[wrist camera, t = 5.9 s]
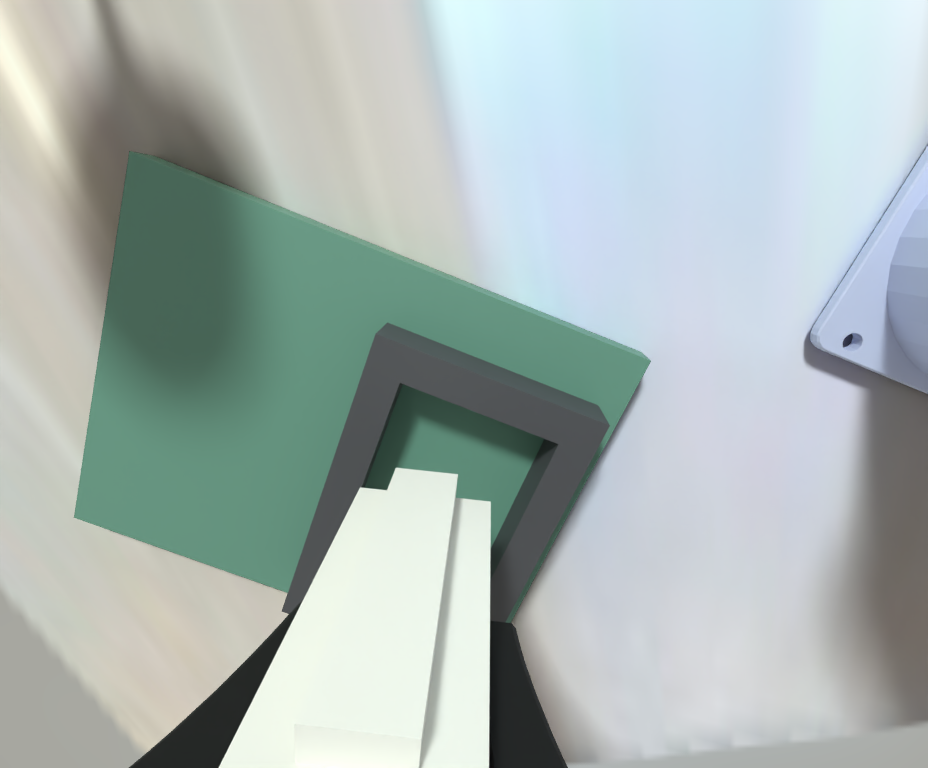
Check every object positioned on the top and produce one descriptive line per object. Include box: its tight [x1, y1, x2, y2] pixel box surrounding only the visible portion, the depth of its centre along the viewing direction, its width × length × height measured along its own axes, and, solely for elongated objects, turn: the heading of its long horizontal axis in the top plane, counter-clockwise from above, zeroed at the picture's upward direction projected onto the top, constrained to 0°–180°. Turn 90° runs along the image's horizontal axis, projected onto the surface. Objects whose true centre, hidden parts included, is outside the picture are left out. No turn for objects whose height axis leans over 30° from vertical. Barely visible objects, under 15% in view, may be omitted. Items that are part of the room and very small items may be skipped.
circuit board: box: [74, 151, 651, 623], centre depth 15 cm, size 15×12×2 cm
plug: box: [219, 468, 491, 768], centre depth 9 cm, size 5×3×7 cm, turn 175°
